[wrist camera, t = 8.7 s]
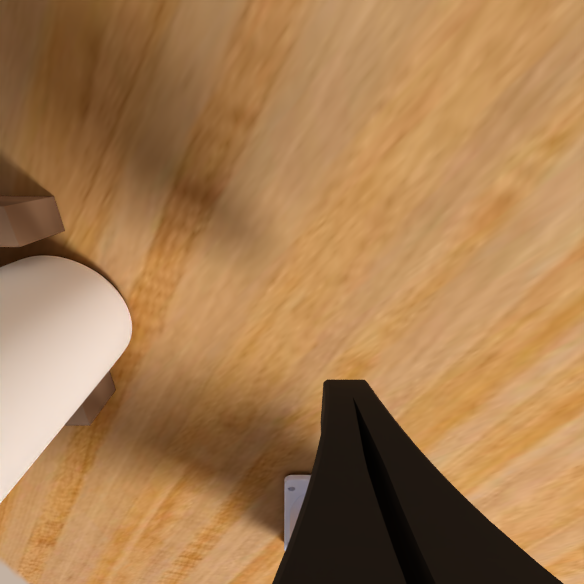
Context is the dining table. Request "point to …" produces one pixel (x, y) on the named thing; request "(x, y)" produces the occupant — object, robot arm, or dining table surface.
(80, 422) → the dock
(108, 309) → the can
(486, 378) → the dining table surface
